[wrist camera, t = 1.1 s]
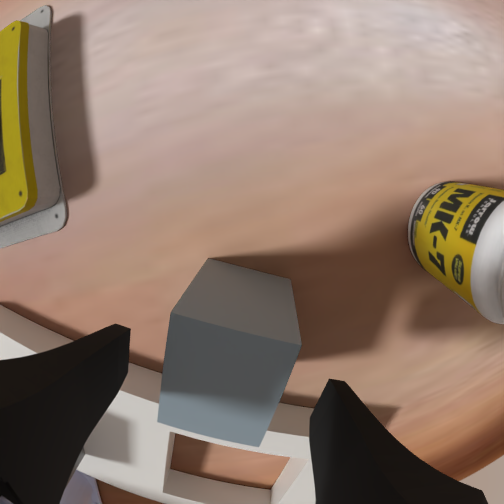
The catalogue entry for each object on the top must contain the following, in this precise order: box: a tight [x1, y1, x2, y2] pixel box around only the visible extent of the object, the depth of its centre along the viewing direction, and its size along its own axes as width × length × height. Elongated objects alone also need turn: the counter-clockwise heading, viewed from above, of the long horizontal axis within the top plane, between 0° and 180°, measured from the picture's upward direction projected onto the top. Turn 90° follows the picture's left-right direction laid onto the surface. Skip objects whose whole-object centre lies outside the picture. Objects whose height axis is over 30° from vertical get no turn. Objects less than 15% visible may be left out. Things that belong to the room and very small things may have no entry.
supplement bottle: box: [408, 181, 504, 324], centre depth 10 cm, size 5×5×8 cm
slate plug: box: [157, 258, 302, 447], centre depth 13 cm, size 5×4×6 cm
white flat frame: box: [0, 305, 316, 504], centre depth 17 cm, size 12×26×3 cm, turn 76°
